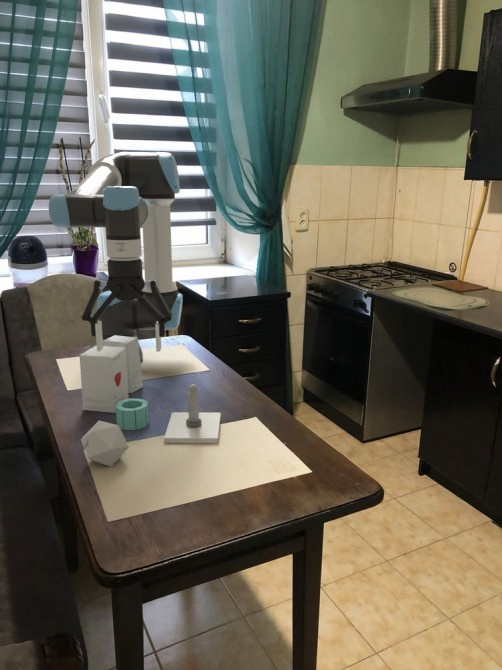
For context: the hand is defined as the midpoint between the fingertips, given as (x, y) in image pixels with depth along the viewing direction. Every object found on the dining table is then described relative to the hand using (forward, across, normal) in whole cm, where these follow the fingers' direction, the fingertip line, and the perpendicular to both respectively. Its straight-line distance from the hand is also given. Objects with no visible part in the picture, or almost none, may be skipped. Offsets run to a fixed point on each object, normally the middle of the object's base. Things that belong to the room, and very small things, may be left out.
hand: (129, 349), depth 125 cm
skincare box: (+19, -7, +23) cm, 31 cm away
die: (+19, -2, -18) cm, 26 cm away
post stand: (+19, +15, -3) cm, 24 cm away
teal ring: (+19, 0, 0) cm, 19 cm away
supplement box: (+19, -9, +11) cm, 24 cm away
